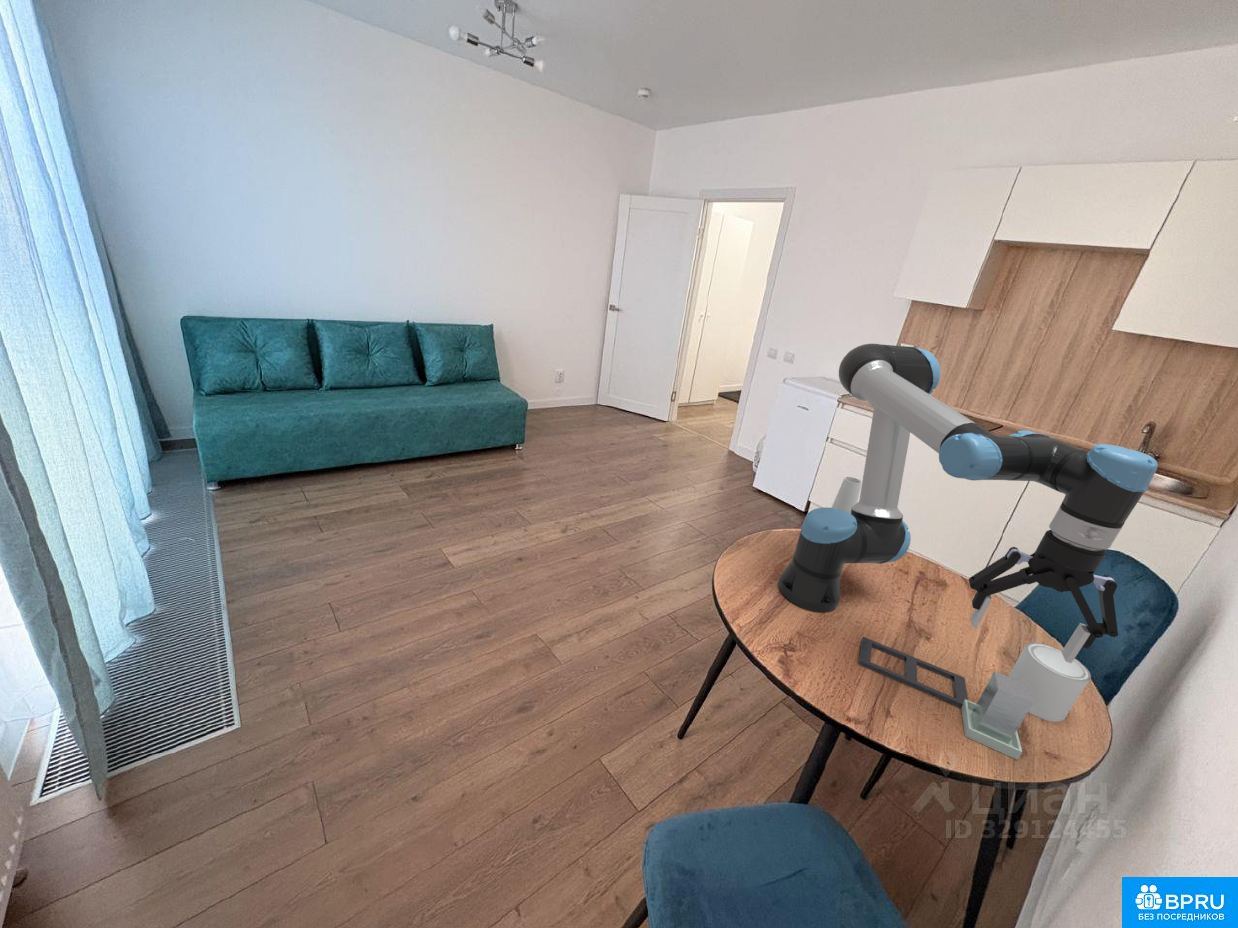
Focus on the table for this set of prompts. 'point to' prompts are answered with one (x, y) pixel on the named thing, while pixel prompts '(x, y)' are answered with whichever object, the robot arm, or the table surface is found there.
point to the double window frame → (914, 672)
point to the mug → (1050, 680)
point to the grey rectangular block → (1002, 707)
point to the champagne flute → (847, 494)
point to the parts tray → (1008, 749)
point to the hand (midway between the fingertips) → (1018, 639)
